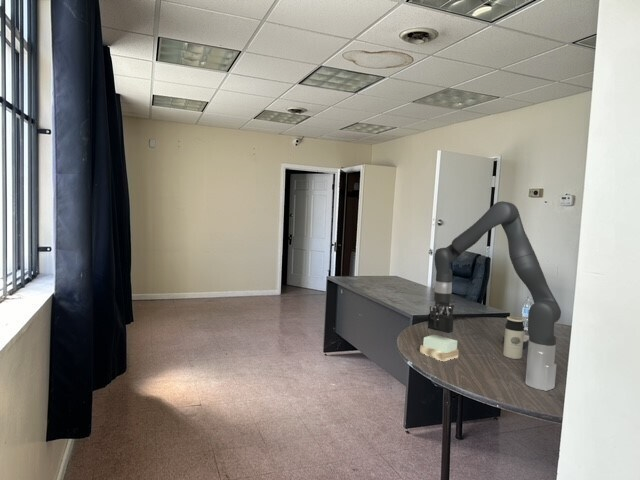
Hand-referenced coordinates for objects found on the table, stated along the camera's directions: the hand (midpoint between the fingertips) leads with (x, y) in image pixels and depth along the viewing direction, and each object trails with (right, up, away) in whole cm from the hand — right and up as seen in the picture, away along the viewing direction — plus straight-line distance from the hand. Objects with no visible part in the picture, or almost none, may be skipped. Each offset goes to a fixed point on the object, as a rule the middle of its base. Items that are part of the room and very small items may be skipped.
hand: (440, 327), depth 192 cm
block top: (0, -9, +1) cm, 9 cm away
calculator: (+48, -14, +26) cm, 56 cm away
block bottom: (-1, -13, +1) cm, 13 cm away
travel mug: (+35, -14, +4) cm, 38 cm away
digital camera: (0, -1, 0) cm, 1 cm away
